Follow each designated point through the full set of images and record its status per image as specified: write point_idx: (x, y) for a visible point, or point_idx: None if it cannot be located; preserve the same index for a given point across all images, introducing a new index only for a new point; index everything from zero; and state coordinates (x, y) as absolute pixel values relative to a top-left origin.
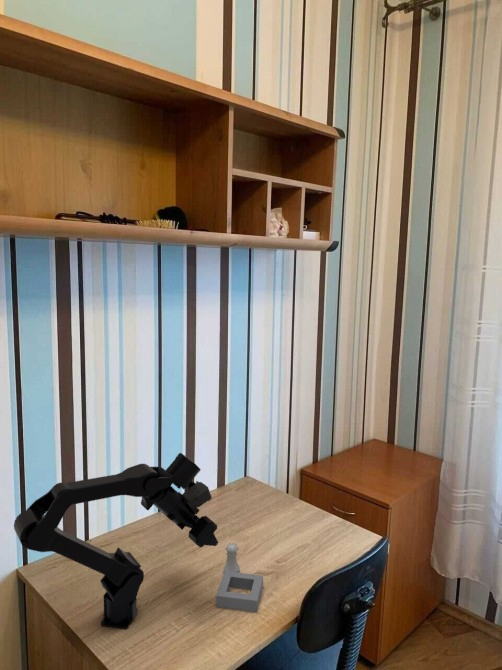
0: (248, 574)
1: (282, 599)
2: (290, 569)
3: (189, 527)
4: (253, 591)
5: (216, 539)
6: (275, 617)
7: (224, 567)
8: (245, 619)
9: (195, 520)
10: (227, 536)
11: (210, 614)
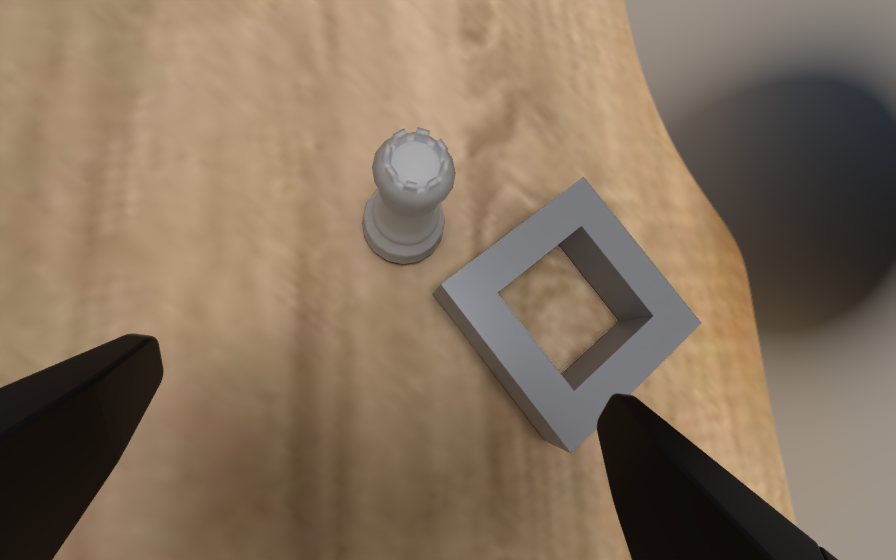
0: (536, 217)
1: (656, 202)
2: (542, 45)
3: (66, 537)
4: (644, 289)
5: (702, 455)
6: (714, 294)
7: (385, 245)
8: (667, 389)
9: (24, 427)
10: (137, 23)
11: (567, 489)
